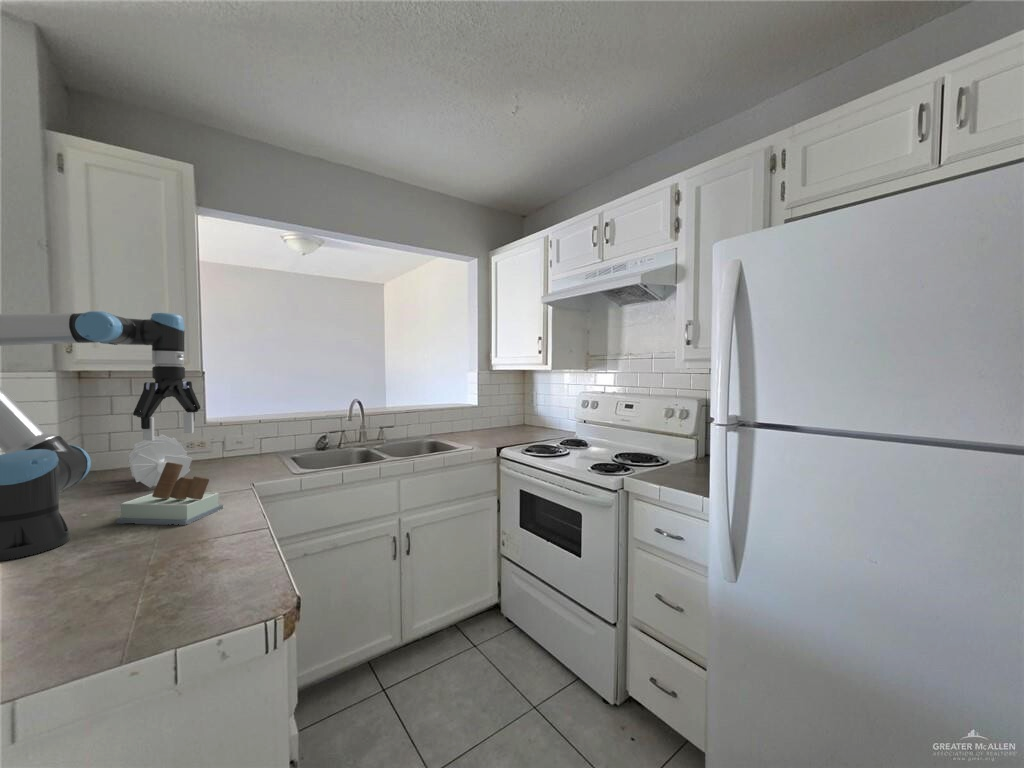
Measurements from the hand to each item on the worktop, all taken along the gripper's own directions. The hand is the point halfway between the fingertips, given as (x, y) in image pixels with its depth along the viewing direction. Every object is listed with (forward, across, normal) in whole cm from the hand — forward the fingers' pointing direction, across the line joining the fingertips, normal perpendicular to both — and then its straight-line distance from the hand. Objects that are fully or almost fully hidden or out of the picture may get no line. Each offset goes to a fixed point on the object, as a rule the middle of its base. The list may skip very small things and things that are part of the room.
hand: (169, 436), depth 124 cm
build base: (+24, 0, 0) cm, 24 cm away
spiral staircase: (+24, +34, +36) cm, 55 cm away
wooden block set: (+19, +1, -2) cm, 19 cm away
